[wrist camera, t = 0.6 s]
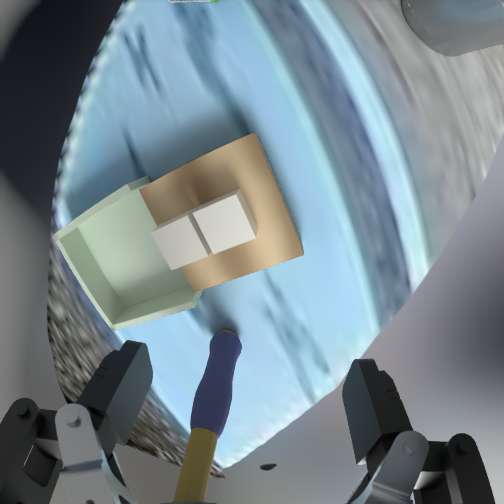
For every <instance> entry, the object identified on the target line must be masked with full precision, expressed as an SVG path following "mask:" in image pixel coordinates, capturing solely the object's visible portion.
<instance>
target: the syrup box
mask: <svg viewBox="0 0 504 504" xmlns="http://www.w3.org/2000/svg"><path fill="white" fill-rule="evenodd" d="M168 1H169V2H170V3H179V2H220V1H221V0H168Z"/></svg>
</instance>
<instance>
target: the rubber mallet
mask: <svg viewBox="0 0 504 504" xmlns="http://www.w3.org/2000/svg"><path fill="white" fill-rule="evenodd" d="M241 349H242V345H241V342H240V340H239V338H238V336H237V335H236V334H235V333H234V332H232V331H229V330H222V331H220V332H218V333H217V334H216V335H214V336H213V338H212V339H211V341H210V355H209V358H208V362H207V366H206V369H205V373H204V375H203V378H202V380H201V382H200V384H199V386H198V388H197V391H196V394H195V398H194V402H193V407H192V413H191V421H190V425H191V433H190V437H189V441H188V445H187V449H186V453H185V457H184V461H183V465H182V469H181V473H180V477H179V481H178V485H177V489H176V493H175V497H174V501H173V503H161V504H216V503H206V502H204V499H205V494H206V490H207V485H208V480H209V476H210V471H211V467H212V462H213V457H214V453H215V448H216V444H217V439H218V438H219V437H220V435H221V434H222V432H223V429H224V427H225V424H226V420H227V417H228V414H229V410H230V405H231V400H232V380H233V375H234V370H235V364H236V361H237V359H238V357H239V355H240V353H241Z"/></svg>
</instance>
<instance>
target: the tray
mask: <svg viewBox="0 0 504 504" xmlns="http://www.w3.org/2000/svg"><path fill="white" fill-rule="evenodd" d="M150 183H151V182H150V180H149V178H148V176H145V177H142V178H140V179H137V180H135V181H132V182H130V183H127V184H126V185H124V186H123V187H121V188H119V189H118V190H116V191H115V192H113V193H112V194H110V195H109V196H107V197H106V198H104V199H103V200H101V201H100V202H98V203H97V204H95V205H94V206H92V207H91V208H89V209H88V210H87V211H85V212H84V213H82V214H81V215H80V216H78V217H77V218H75V219H74V220H73V221H71V222H70V223H69V224H67V225H66V226H65V227H63V228H62V229H61V230H59V231H58V232H57V233H56V234H54V235H53V237H54V239H55V241H56V243H57V245H58V246H59V248H60V250H61V252H62V254H63V256H64V257H65V259H66V261H67V263H68V264H69V266H70V268H71V270H72V271H73V273H74V275H75V276H76V278H77V280H78V281H79V283H80V284H81V286H82V288H83V289H84V291H85V292H86V294H87V295H88V297H89V298H90V300H91V301H92V303H93V304H94V306H95V307H96V309H97V310H98V312H99V313H100V315H101V316H102V317H103V319H104V320H105V322H106V323H107V324H108V326H109V327H110V329H111V330H112V331H115V330H118V329H122V328H126V327H129V326H133V325H137V324H140V323H144V322H147V321H151V320H154V319H158V318H161V317H165V316H168V315H172V314H175V313H178V312H182V311H185V310H189V309H192V308H195V307H196V305H197V303H198V301H199V298H200V296H201V294H202V292H203V290H200V291H197V292H194V291H193V289H192V288H191V286H190V284H189V283H188V281H187V279H186V277H185V276H184V274H183V272H182V270H181V269H180V267H179V268H177V269H174V270H171V269H170V267H169V265H168V263H167V262H166V260H165V258H164V256H163V255H162V253H161V251H160V249H159V248H158V246H157V244H156V242H155V240H154V238H153V237H152V235H151V232H152V231H153V230H154V229H155V228H157V225H156V223H155V221H154V219H153V217H152V215H151V213H150V211H149V210H148V208H147V206H146V204H145V202H144V200H143V198H142V196H141V194H140V192H139V189H141V188H143V187H144V186H146V185H148V184H150Z"/></svg>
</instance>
